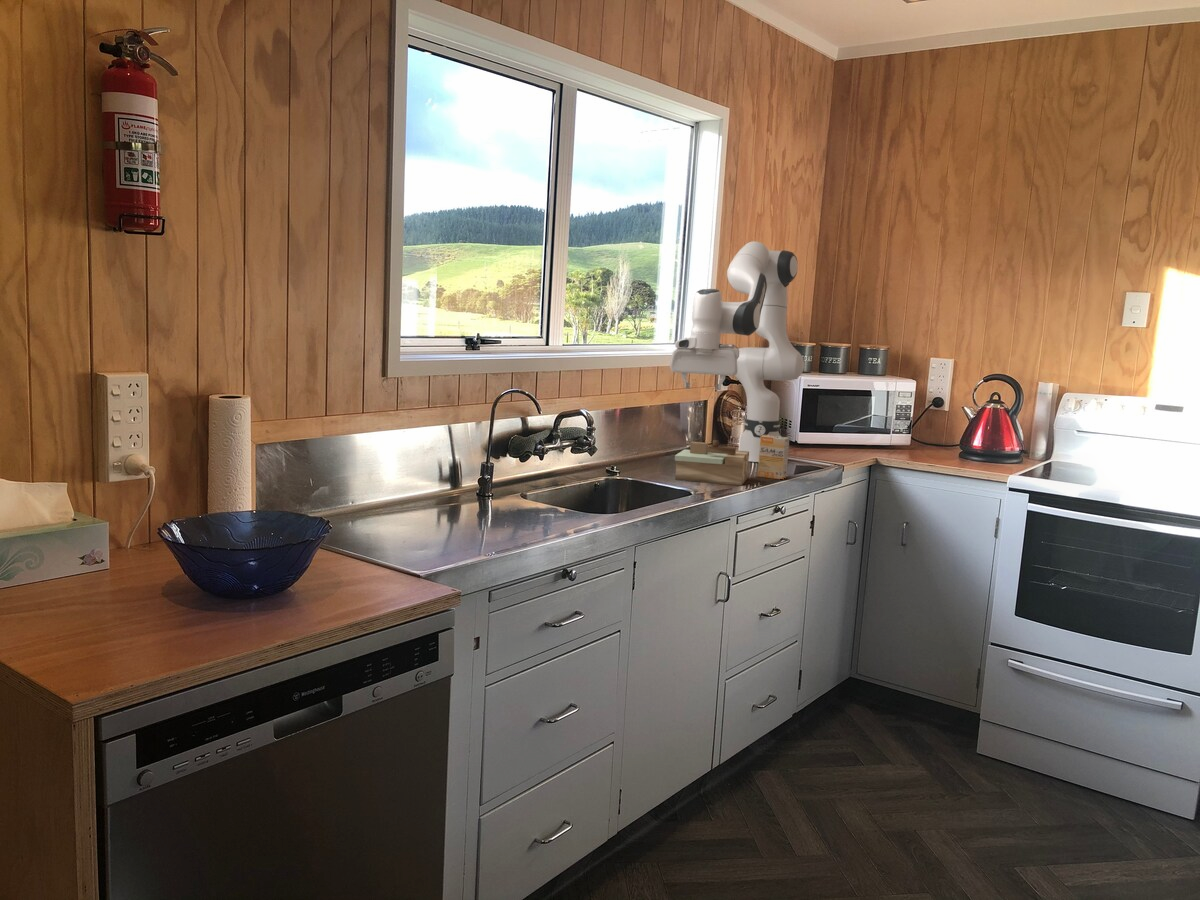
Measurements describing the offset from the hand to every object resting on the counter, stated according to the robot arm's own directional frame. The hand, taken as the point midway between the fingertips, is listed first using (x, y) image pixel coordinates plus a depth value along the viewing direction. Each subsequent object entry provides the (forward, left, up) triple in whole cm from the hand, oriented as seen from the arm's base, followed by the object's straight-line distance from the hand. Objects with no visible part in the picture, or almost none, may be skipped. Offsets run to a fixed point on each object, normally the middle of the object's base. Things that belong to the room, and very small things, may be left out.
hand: (702, 389), depth 291 cm
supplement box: (-13, +21, -28) cm, 37 cm away
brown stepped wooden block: (+2, +7, -19) cm, 20 cm away
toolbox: (-1, +4, -28) cm, 28 cm away
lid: (-1, +1, -22) cm, 21 cm away
